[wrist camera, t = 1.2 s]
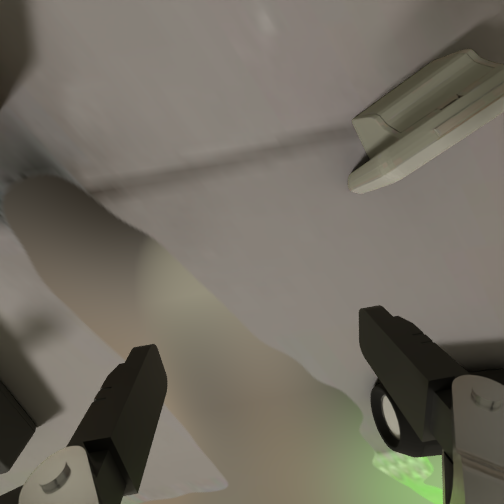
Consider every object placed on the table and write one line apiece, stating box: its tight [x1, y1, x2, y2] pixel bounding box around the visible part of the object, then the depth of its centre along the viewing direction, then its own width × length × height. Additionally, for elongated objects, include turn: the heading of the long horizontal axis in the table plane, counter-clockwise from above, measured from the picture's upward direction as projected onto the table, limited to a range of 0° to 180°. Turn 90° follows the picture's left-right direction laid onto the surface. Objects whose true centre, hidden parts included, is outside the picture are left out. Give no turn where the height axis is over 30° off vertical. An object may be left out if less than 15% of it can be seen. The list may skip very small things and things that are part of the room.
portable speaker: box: [371, 369, 504, 457], centre depth 39 cm, size 26×10×10 cm, turn 92°
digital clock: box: [348, 49, 504, 194], centre depth 22 cm, size 16×9×11 cm, turn 114°
